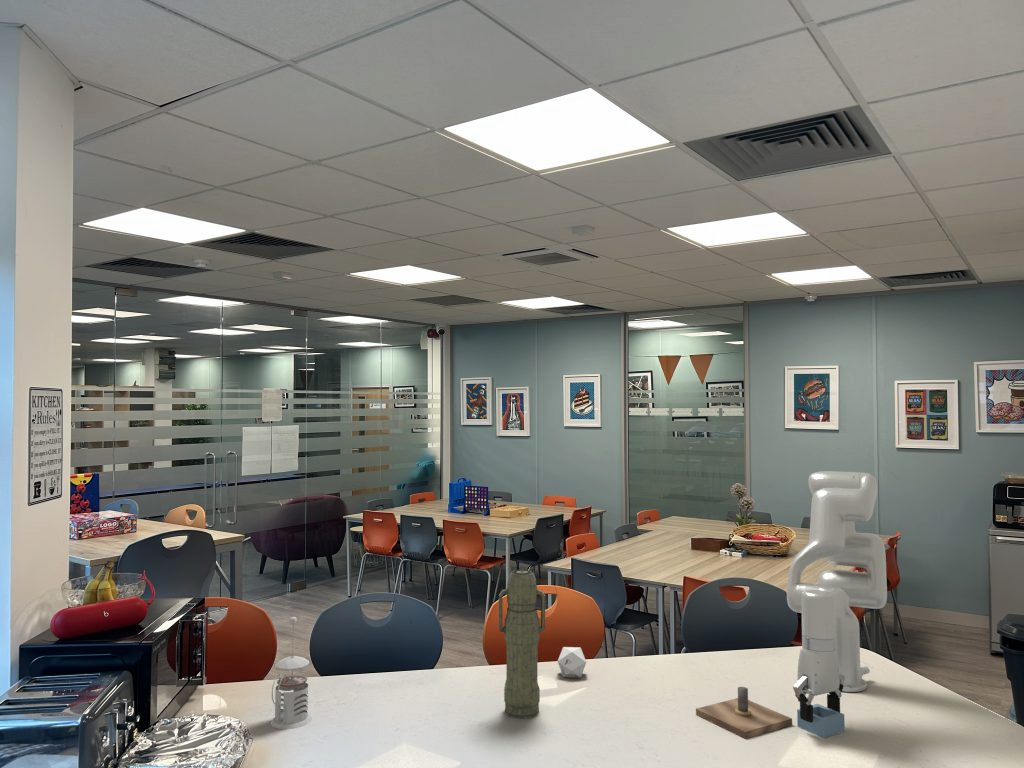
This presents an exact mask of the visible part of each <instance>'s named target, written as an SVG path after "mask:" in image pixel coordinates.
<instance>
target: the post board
mask: <svg viewBox="0 0 1024 768" xmlns="http://www.w3.org/2000/svg"><path fill="white" fill-rule="evenodd" d="M695 715H696V716H698V717H699V718H701V719H704V720H706V721H708V722H711V723H712V724H714V725H716V726H718V727H721V728H722V729H725V730H726V731H729V732H731V733H733V734H735V735H737V736H739V737H740V738H743V739H749V738H751V737H756V736H759V735H761V734H765V733H770V732H772V731H775V730H779V729H780V730H781V729H782V728H786V727H790V726H793V718H792V717H790V716H788V715H785V714H783V713H780V712H777V711H776V710H773V709H771V708H768V707H767V706H764V705H761V704H759V703H756V702H755V701H751V700H750V699H749V688H748V687H746V686H738V687H737V697H736V698H733V699H729V700H724V701H719V702H716V703H713V704H708V705H705V706H702V707H696V709H695Z"/></svg>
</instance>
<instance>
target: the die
mask: <svg viewBox="0 0 1024 768" xmlns="http://www.w3.org/2000/svg"><path fill="white" fill-rule="evenodd" d="M557 663H558V664H557V665H558V667H559V669H560V672H561V675H562V677H563V678H575V679H576V678H577V679H578V678H579V679H580V678H582V675H583V672H584V670H585V667H586V664H587V661H586V658H585V655H584V653H583V650H582V648H581V646H580V647H577V646H576V647H575V646H574V647H573V646H563V647H562V649H561V652H560V654H559V657H558V659H557Z"/></svg>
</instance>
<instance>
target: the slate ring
mask: <svg viewBox="0 0 1024 768" xmlns="http://www.w3.org/2000/svg"><path fill="white" fill-rule="evenodd" d="M812 705H813V722H811V723H810V722H807V721H805V720H803V719H801V718H800V708H798V709H796V710H797V711H796V713H797V714H796V715H797V719H796V720H797V722H796V723H797V727H798V728H800V729H803V730H805V731H807V732H809V733H811V734H814V735H817V736H819V737H821V738H823V739H824V738H828V737H832V736H835V735H838V734H841V733H844V732H846V726H845V723H846V722H845V714H844V713H843V712H841V711H840V712H837V711H835V710H832V709H830V708H827V706H824V705H821V704H818V703H816V704H812Z"/></svg>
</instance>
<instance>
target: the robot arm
mask: <svg viewBox="0 0 1024 768" xmlns="http://www.w3.org/2000/svg"><path fill="white" fill-rule="evenodd" d="M807 482H808V488H809V490H810V493H811V495H812V498H811V506H810V523H809V540H808V543H807V545H805V546H804V547H803V548H802V549H801V550H800V551H799V552H798V553H797V555H795V557H794V558H793V560H792V562H791V563H790V566H789V569H788V575H787V583H786V584H787V586H786V602H787V606H788V607H789V609H790V610H791V611H793V612H795V613H798V614H799V613H800V614H801V649H800V650H799V656H798V663H797V681H796V682H795V683H794V685H792V689H793V692H794V695H795V698H797V702H799V709H800V718H801V719H803V720H805V721H807V722H810V723H811V722H813V705H814V704H812V702H813V700H814V698H815V697H816V696H821V695H824V694H825V695H826V694H827V695H826V707H827V708H830V709H832V710H835V711H837V712H840V713H841V697H842V695H843V694H842V692H845V693H846V692H847V693H858V692H863V691H865V690H867V688H868V684H867V682H866V681H865V680H864V679H863V676H864V675H867V674H869V673H870V671H871V670H870V668H869V667H868V666H861V648H860V647H861V645H860V644H861V643H860V641H861V640H860V622H859V619H858V618H857V616H856V613H854V612H853V610H852V609H851V607H855V608H856V607H857V608H865V609H873V610H874V609H875V610H878V609H882V608H884V607H885V606H886V604H887V601H888V586H887V585H888V584H887V583H888V582H887V559H886V558H887V557H886V547H885V543H884V540H883V539H882V537H881V536H879V535H877V534H875V533H870V532H857V531H856V525H855V522H862V523H863V522H868V521H869V520H870V519H871V518H872V516H873V514H874V510H875V504H876V501H877V500H876V499H877V496H878V483H877V480H876V477H875V476H874V475H873V474H871V473H868V472H859V471H856V472H855V471H839V470H838V471H835V470H832V471H829V470H828V471H827V470H826V471H822V470H821V471H816V472H813V473H811V474H810V475H809V476H808V481H807ZM821 559H824V560H825V561H826V562H827V563H829V564H831V565H836V566H843V567H853V568H863V569H866V571H867V572H866V571H865V572H864V571H853V570H845V569H826V570H824V571H822V572H820V574H819V575H818V577H817V583H809V582H801V579H802V574H803V573H804V571H805V570H806V568H807V567H809V566H810V565H811V564H813V563H815V562H817V561H819V560H821ZM806 695H807V696H806Z"/></svg>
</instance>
